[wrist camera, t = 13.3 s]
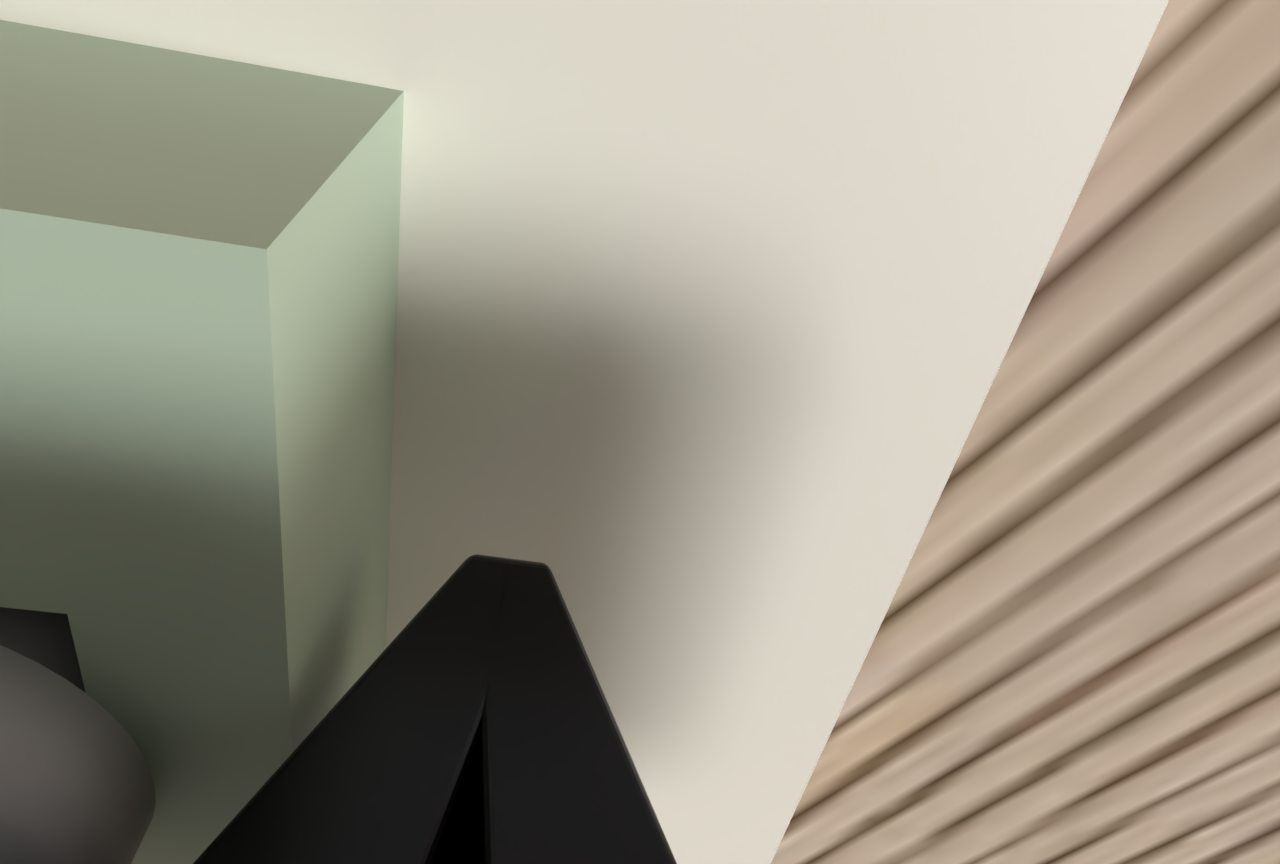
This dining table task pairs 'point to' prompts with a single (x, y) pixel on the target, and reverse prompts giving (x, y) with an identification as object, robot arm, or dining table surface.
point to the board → (658, 344)
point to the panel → (197, 396)
